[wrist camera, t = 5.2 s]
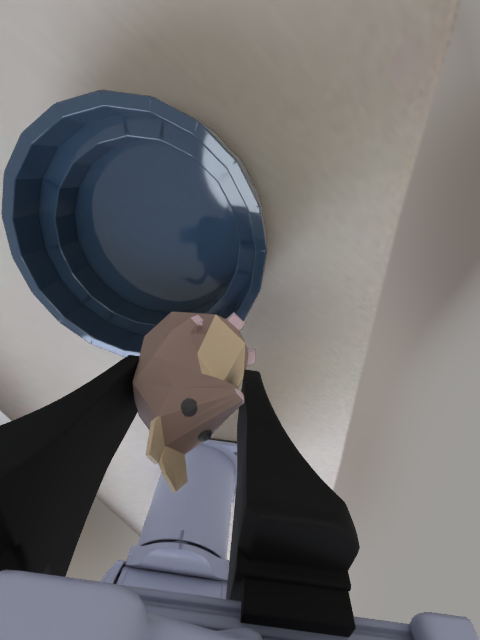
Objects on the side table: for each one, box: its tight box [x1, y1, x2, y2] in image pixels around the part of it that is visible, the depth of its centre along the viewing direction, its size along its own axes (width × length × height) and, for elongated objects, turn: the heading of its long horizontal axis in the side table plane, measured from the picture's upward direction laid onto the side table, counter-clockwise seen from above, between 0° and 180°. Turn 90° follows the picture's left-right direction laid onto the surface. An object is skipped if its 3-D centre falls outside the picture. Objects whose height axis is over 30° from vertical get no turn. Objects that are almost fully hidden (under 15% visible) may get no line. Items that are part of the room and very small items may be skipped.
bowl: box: [2, 90, 267, 357], centre depth 18 cm, size 14×14×4 cm
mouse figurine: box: [132, 312, 256, 493], centre depth 12 cm, size 5×8×7 cm, turn 110°
